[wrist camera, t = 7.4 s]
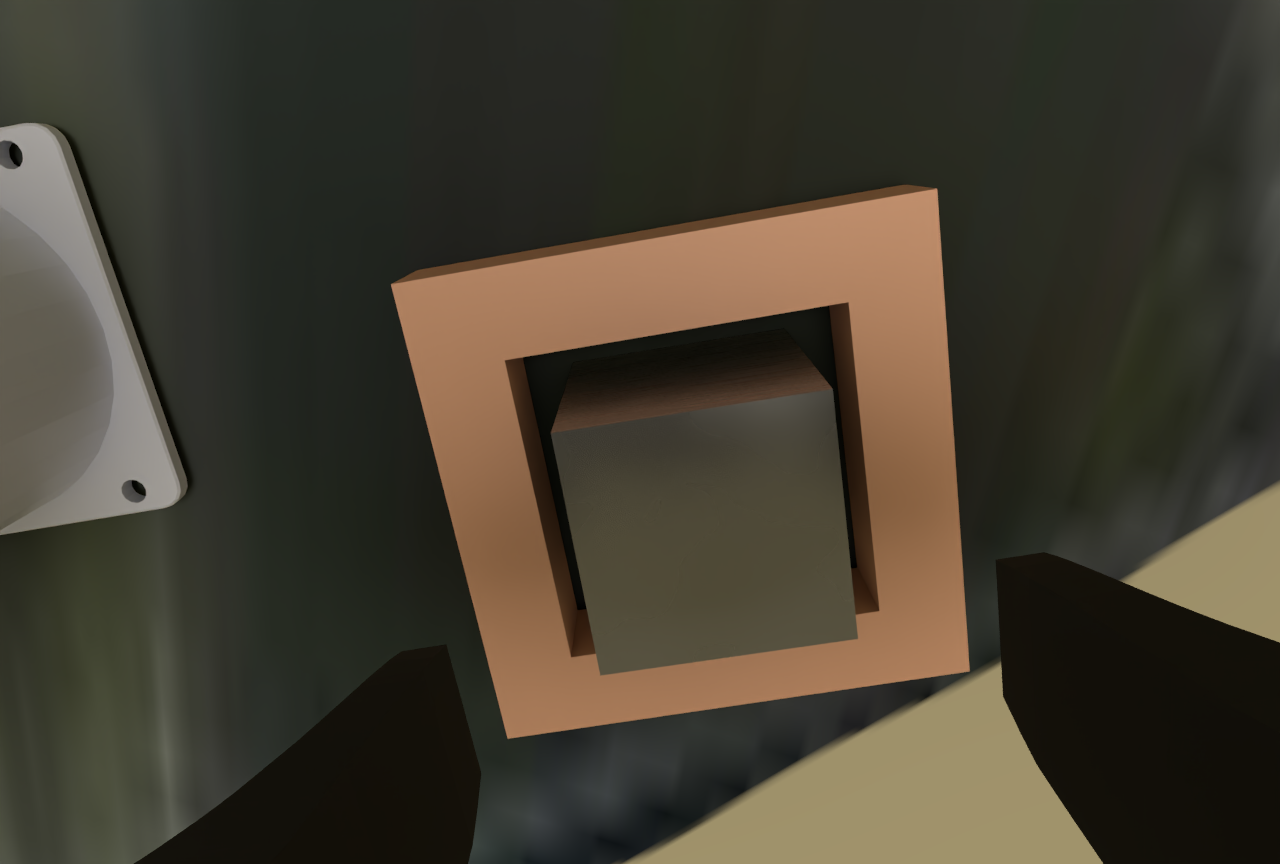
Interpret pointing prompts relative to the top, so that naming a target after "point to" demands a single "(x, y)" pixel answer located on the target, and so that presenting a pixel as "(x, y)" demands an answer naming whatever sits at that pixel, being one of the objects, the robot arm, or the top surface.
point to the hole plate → (673, 301)
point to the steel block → (705, 502)
